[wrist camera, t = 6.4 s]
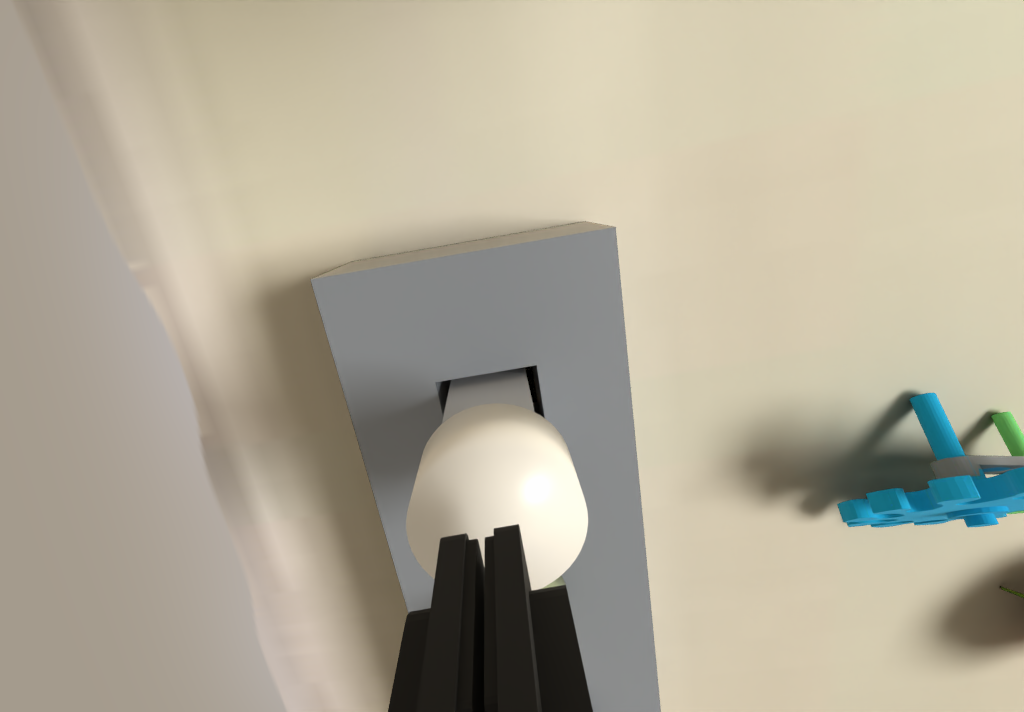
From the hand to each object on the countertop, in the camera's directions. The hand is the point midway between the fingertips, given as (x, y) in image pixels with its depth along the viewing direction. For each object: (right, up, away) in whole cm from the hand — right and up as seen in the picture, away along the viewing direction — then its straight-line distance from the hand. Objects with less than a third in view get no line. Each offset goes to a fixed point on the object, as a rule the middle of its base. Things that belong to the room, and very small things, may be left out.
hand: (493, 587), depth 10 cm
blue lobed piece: (+21, 0, +15) cm, 25 cm away
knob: (0, +3, +9) cm, 9 cm away
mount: (+1, -3, +14) cm, 15 cm away
